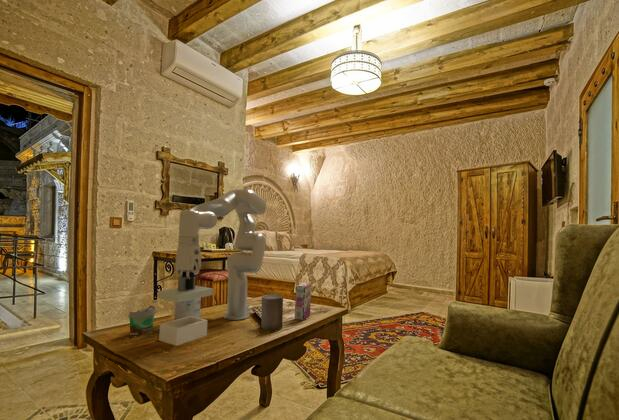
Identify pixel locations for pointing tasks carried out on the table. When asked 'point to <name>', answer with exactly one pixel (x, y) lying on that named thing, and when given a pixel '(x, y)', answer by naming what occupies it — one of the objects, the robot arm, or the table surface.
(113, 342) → the table surface
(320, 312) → the table surface
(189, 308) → the light bulb box
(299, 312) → the candy bar box
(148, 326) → the food container
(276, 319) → the pillar candle
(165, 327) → the tub
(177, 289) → the lid
